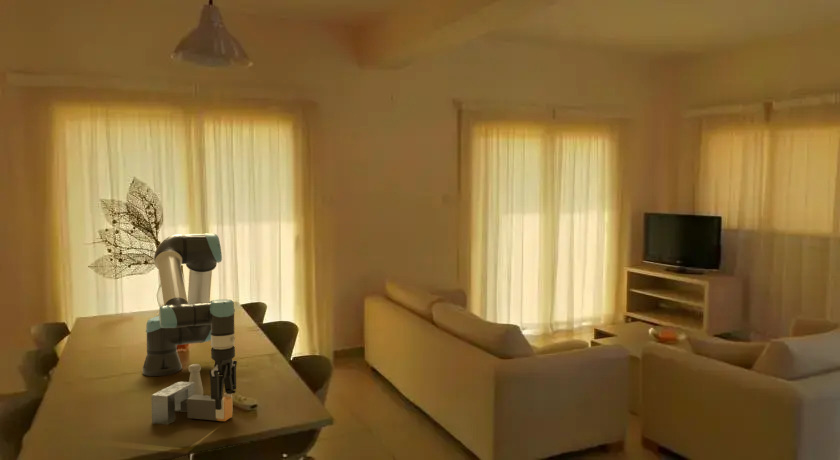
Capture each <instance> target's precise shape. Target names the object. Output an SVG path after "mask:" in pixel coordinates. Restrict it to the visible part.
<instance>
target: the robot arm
mask: <svg viewBox="0 0 840 460" xmlns="http://www.w3.org/2000/svg"><path fill="white" fill-rule="evenodd" d="M153 257H154V258H153V260H154V261H153V262H154V265H155V267H156V268H157V269H158V272H159V273H158V274H159V282H160V287H161V295H162V302H163V305H161V306H160V307H159V309H158V310H159V311H158V315H156V316H154V317H151V318H149V319H148V320H147V321H146V324H145V325H146V329H145V333H146V355H145V356H146V357H145V360H144V361H143V362H144V364H143V366H142V375H144V376H147V377H148V376H149V377H163V376H169V375H174V374H176V373H178V372H180V371H181V370H182V368H183V366H182V365H183V364H182V362H181V359H180V355H179V353H178V346H179V345H180V346H181V345H191V344H193V345H194V344H202V343H207V342H210V347H211V349H210V354H211V355H210V357H211V360H212V361H214V366H213V368H212V369H209V371H208V375H209V377H210V380H209V381H210V382H209V383H210V396H211V399H214V400H215V406H216V407H215V408H216V418H217V419H224V399H222V398H223V397H232V398H233V394H236V390H237V365H238V364H237V363H238V361H237V360H233V359H234V358H235V356H236V346H234V345H236V344H235V340H236V337H235V312H236V311H235V301H234V300H232V299H228V298H226V299H225V298H220V299H214V300H210V299H211V298H210V297H211V286H212V275H213V271H214V270H215V269H216V268H217V264H220V263H221V262H222V260H223V259H222V258H223V256H222V247H221V242H220V239H219V236H218V234H216V233H208V232H206V233H178V234H172V235H170V236H168V237H167V238H165V239H164V240H163V241H162V242H161V243H160V244H158V246H157V248H156V250H155V251H154V256H153ZM182 265H186V267H187V269H188V270H189V271H188V272H189V274H188V288H187V289H188V291H187V293H186V287H185V281H184V277H183V272H182V268H181V267H182ZM224 391H225V393H224ZM233 405H234V404H233V402H232V414H233V412H234V411H233V409H234V408H233Z"/></svg>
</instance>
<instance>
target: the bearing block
mask: <svg viewBox="0 0 840 460" xmlns="http://www.w3.org/2000/svg"><path fill="white" fill-rule="evenodd" d="M150 395H151V424H157V425H166V426H167V425H168V426H169V425H170V424H172V423H173V422H175V421H176V412H179V411H180V413H181V412H182V413H187V411H181V401H183V400H185V399H188V398H190V397H191V396H193V395H195V393H194V383H193V382H189V381H177V382H175V383H172V384H171V385H170V386H167V387H164V388H162V389H161V390H158V391H157V392H155V393H153V394H150Z"/></svg>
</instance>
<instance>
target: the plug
mask: <svg viewBox="0 0 840 460" xmlns="http://www.w3.org/2000/svg"><path fill="white" fill-rule="evenodd" d="M222 399H224V419H217V418H216V408H215V407H216V406H215V400H214V399H211V395H208V394H207V395H204V394H203V395H193V396H191V397H190V398H188V399H185V400H183V401H181V411H187V412H186V414H187V419H197V420H206V421H207V420H208V421H219V422H226V421H228V420H229V419H231V418H232V417H233V413H232V403H233V396H232V397H224V396H223V398H222Z"/></svg>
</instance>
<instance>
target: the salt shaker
mask: <svg viewBox="0 0 840 460" xmlns="http://www.w3.org/2000/svg"><path fill="white" fill-rule="evenodd" d="M201 369H202V366H201V365H200V364H199V363H193V364H190V365H188V372H189V373H190V374H189V380H188V382H193V383H194V393H195V395H204V388H203V383H202V377H201V373H200V372H201Z"/></svg>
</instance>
